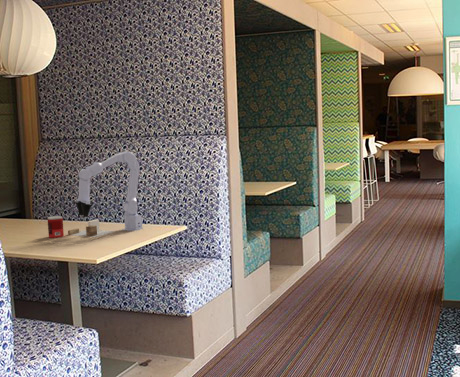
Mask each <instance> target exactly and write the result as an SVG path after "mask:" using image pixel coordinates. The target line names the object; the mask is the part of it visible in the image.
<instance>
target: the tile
mask: <svg viewBox="0 0 460 377" xmlns="http://www.w3.org/2000/svg"><path fill="white" fill-rule="evenodd" d="M87 226H97V233H98V232H100V230H101V228H100V219H92V220H88V221H87Z"/></svg>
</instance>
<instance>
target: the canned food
mask: <svg viewBox="0 0 460 377" xmlns="http://www.w3.org/2000/svg"><path fill="white" fill-rule="evenodd" d="M47 227H48V228H47V229H48V232H47V233H48V238H49V239H58V238H63V237H64V236H65V235H64V218H63V216H61V215H56V216H48V217H47Z"/></svg>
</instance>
